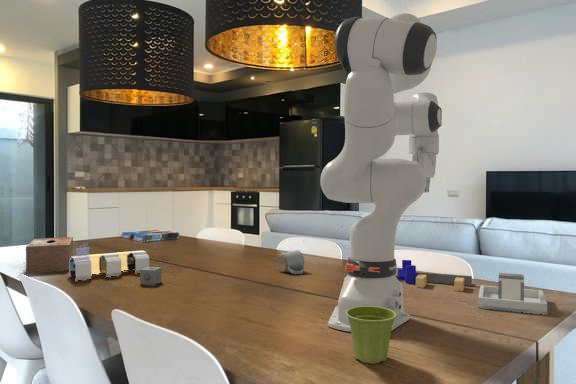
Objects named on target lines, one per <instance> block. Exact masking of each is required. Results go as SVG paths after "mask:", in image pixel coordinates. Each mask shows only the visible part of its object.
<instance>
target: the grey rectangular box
mask: <svg viewBox="0 0 576 384" xmlns="http://www.w3.org/2000/svg"><path fill="white" fill-rule="evenodd" d="M524 276H525V275H524V274H520V273H519V274H518V273H507V272H498V283H497V285H498V286H497V287H498V299H509V300H519V301H524V289H525V277H524Z"/></svg>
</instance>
